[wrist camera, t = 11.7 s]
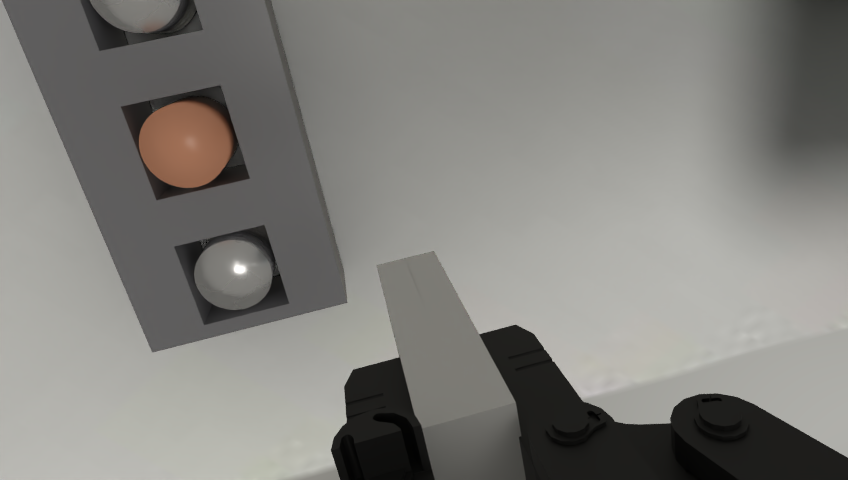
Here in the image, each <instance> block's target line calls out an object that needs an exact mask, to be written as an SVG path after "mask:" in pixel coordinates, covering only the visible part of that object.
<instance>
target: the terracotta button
mask: <svg viewBox="0 0 848 480" xmlns="http://www.w3.org/2000/svg"><path fill="white" fill-rule="evenodd" d="M237 146H238V139H237V136H236V133H235V130H234V126H233V123H232V120H231V117H230V114H229V111H228V110H227V109H226V108H225V107H224V106H223V105H221V104H220V103H218V102H216V101H214V100H212V99H210V98H206V97H200V96H192V97H186V98H183V99H181V100H178V101H176V102H174V103H172V104H169V105H167V106H165V107H162V108H160V109H158V110H157V111H155V112H153V113H152V114H151V115H150V116H149V117H148V118H147V119H146V121H145V122H144V124H143V126H142V128H141V131H140V135H139V149H140V153H141V156H142V159H143V161H144V163H145V164H146V166H147V167H148V169H149V170H150V171H151V172H152V173H153V174H154V175H155V176H156V177H158V178H159V179H160V180H162V181H164V182H165V183H168V184H170V185H173V186H176V187H182V188H194V187H199V186H202V185H205V184H207V183H209V182H210V181H212V180H213V179H215V178H216V177H217V176H218V175H219V174H220V172H221V171H222V170H223V168H224V167H225V166H226V164H227V163H228V162H229V160H230V159H231V157H232V156H233V155H234V153H235V151H236V149H237Z"/></svg>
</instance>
